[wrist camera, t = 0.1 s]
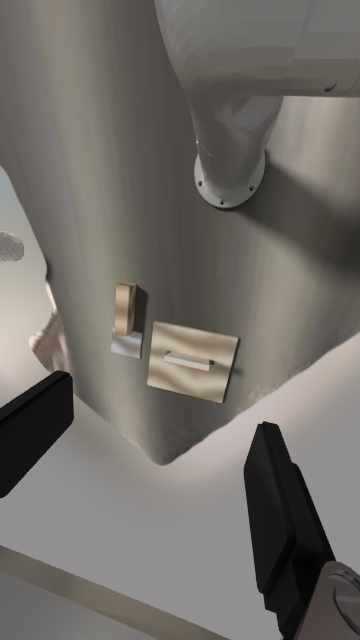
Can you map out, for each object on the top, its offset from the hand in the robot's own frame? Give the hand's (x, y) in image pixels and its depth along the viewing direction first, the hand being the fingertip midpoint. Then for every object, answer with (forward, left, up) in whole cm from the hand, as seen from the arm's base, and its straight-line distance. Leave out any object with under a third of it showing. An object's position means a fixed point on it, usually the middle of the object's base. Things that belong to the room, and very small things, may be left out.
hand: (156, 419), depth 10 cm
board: (+17, -1, -37) cm, 40 cm away
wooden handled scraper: (+9, -18, -37) cm, 42 cm away
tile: (+13, -1, -31) cm, 34 cm away
